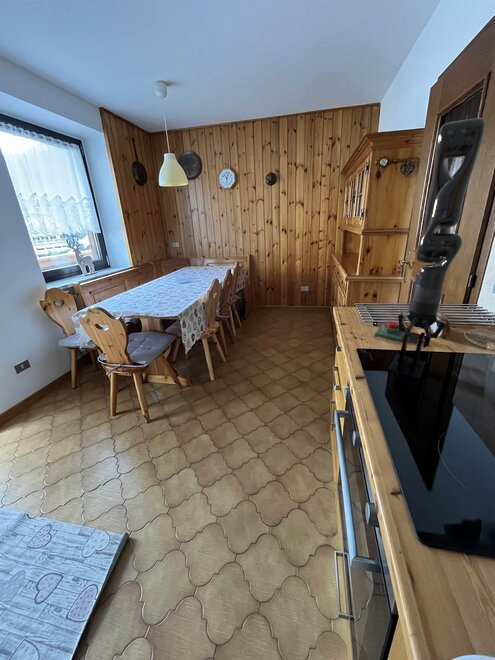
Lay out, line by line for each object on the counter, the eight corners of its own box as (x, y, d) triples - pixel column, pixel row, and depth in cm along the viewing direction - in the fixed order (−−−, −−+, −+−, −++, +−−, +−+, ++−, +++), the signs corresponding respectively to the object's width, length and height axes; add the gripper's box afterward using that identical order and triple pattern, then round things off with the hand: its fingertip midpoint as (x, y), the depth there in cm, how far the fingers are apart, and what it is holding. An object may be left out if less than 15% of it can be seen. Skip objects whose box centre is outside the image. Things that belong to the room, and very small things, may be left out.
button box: (382, 327, 119) (383, 318, 117) (405, 332, 114) (407, 323, 112) (374, 337, 112) (376, 328, 110) (399, 343, 106) (401, 334, 105)
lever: (408, 337, 99) (410, 330, 98) (424, 341, 96) (426, 334, 96) (403, 340, 88) (405, 333, 88) (421, 344, 85) (423, 337, 85)
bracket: (395, 356, 99) (402, 323, 93) (425, 364, 94) (434, 330, 88) (387, 371, 91) (394, 337, 86) (418, 381, 86) (428, 344, 81)
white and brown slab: (447, 342, 106) (453, 321, 102) (438, 341, 106) (444, 321, 103) (432, 324, 119) (437, 306, 115) (424, 324, 119) (428, 306, 116)
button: (388, 324, 114) (388, 320, 113) (398, 326, 111) (398, 322, 111) (385, 327, 111) (386, 323, 110) (395, 330, 109) (396, 326, 108)
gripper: (454, 298, 89) (440, 345, 96) (404, 291, 97) (395, 335, 105) (451, 306, 84) (437, 355, 91) (399, 298, 92) (390, 343, 99)
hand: (415, 344), depth 98 cm, fingers closed on lever, 5 cm apart
